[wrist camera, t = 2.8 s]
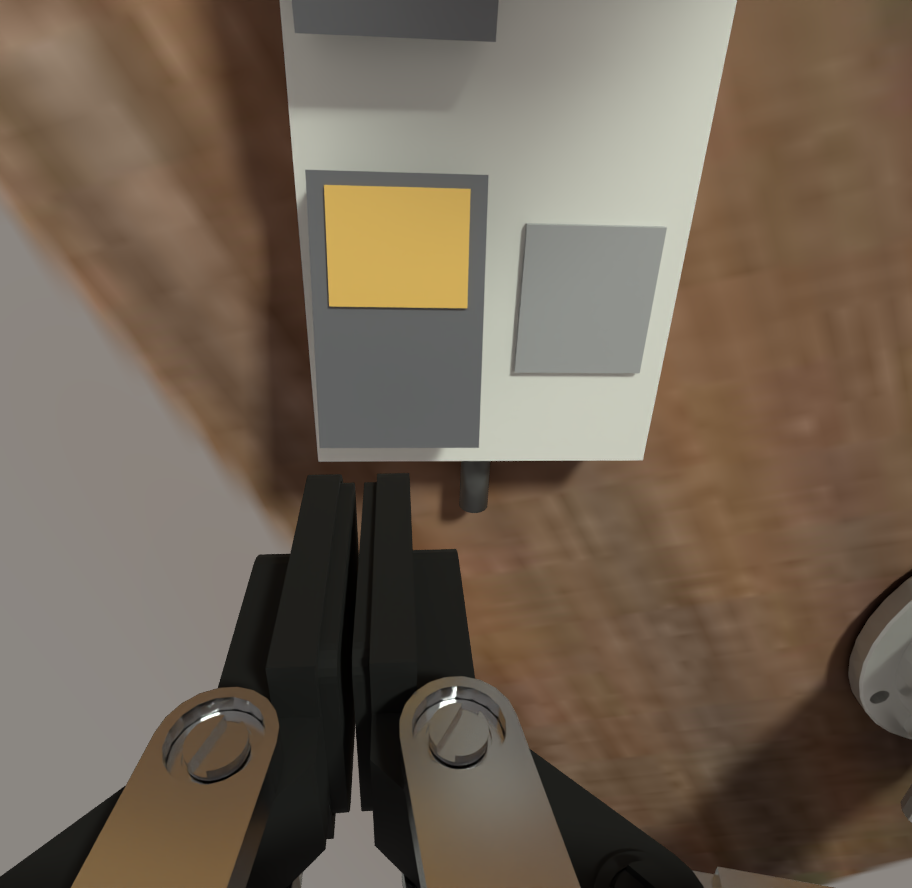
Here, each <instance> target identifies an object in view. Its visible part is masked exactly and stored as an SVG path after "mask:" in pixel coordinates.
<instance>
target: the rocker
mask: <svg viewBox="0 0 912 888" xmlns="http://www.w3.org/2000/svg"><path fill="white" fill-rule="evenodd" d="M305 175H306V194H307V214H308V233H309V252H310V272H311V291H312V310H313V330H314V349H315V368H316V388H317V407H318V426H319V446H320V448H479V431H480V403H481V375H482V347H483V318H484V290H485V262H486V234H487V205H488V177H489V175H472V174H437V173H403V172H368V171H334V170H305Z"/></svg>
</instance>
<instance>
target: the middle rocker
mask: <svg viewBox="0 0 912 888" xmlns="http://www.w3.org/2000/svg"><path fill="white" fill-rule="evenodd" d="M498 3H499V0H292V9H293V19H294V29H295V33H305V34H328V35H350V36H373V37H395V38H418V39H440V40H463V41H485V42H496V31H497V17H498Z"/></svg>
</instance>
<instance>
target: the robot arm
mask: <svg viewBox="0 0 912 888" xmlns="http://www.w3.org/2000/svg"><path fill="white" fill-rule="evenodd" d="M848 677H849V681H850V686H851V690H852V692H853V694H854V696H855V697H856V699H857V700H858V702H859V704H860V705H861V706H862V708H863V709H864V710H865V712H866V713H867V714H868V715H869V716H870V718H871V719H872V720H873V721H874V722H875V723H876V724H877V725H879V726H880V727H882V728H884V729H885V730H887V731H888V732H890V733H893V734H896V735H899V736H902V737H905V738H908V739H912V576H911V577H910V578H908V579H907V580H906V581H905V582H903V583H902V584H901V585H900V586H899V587H898V588H897V589H896V590H895V591H893V592H892V593H891V594H890V595H889V596H888V597H887V598H886V599H885V600H884V601H883V602H882V603H881V604H880V606H879V607H878V608H877V609H876V610H875V611H874V613H873V614H872V615H871V616H870V617H869V619H868V620H867V622H866V624H865V625H864V627H863V629H862V630H861V632H860V634H859V635H858V637H857V639H856V642H855V645H854V648H853V650H852V653H851V656H850V661H849V673H848ZM355 724H356V739H357V753H358V768H359V783H360V797H361V810H362V811H373V820H374V839H375V846H376V847H377V848H378V849H379V850H380V851H381V852H382V853H383V854H384V855H385V856H386V857H387V858H388V859H389V860H390V861H391V862H392V863H393V864H394V865H395V866H396V867H397V868H398V869H399V870H400V871H401V872H402V886H403V888H834V887H828V886H823V885H817V884H812V883H806V882H800V881H795V880H789V879H784V878H778V877H773V876H767V875H762V874H756V873H750V872H745V871H739V870H734V869H728V868H723V867H717V869H716V872H715V874H709V873H703V872H698V871H692V870H691V869H690V868H689V867H688V866H687V865H685V864H684V863H683V862H682V861H681V860H680V859H679V858H678V857H677V856H676V855H674V854H673V853H672V852H670V851H669V850H668V849H666V848H665V847H663V846H662V845H661V844H659V843H658V842H657V841H655V840H654V839H652V838H651V837H650V836H648V835H647V834H646V833H644V832H643V831H642V830H640V829H639V828H637V827H636V826H635V825H633V824H632V823H631V822H629V821H628V820H626V819H625V818H624V817H622V816H621V815H620V814H618V813H617V812H615V811H614V810H613V809H611V808H610V807H609V806H607V805H606V804H605V803H603V802H602V801H600V800H599V799H598V798H596V797H595V796H594V795H592V794H591V793H589V792H588V791H587V790H585V789H584V788H583V787H581V786H580V785H578V784H577V783H576V782H574V781H573V780H572V779H570V778H569V777H568V776H566V775H565V774H563V773H562V772H561V771H559V770H558V769H557V768H555V767H554V766H552V765H551V764H550V763H548V762H547V761H546V760H544V759H543V758H541V757H540V756H539V755H537V754H536V753H535V752H533V751H532V750H531V749H529V747H528V744H527V741H526V739H525V736H524V733H523V731H522V728H521V725H520V723H519V720H518V717H517V714H516V713H515V711H514V709H513V707H512V706H511V704H510V702H509V700H508V699H507V698H506V697H505V696H504V695H503V694H502V693H501V692H499V691H498V690H497V689H496V688H495V687H493V686H491V685H489V684H487V683H485V682H483V681H481V680H478V679H475V675H474V668H473V661H472V653H471V646H470V639H469V631H468V624H467V617H466V610H465V602H464V595H463V588H462V581H461V573H460V566H459V559H458V553H457V550H456V549H441V550H413V549H412V525H411V501H410V477H409V473H395V474H377V482H368V483H364V495H363V509H362V523H361V536H360V550H358V532H357V513H356V495H355V484H354V483H343V479H342V475H341V474H337V475H308V477H307V480H306V485H305V489H304V494H303V499H302V503H301V508H300V512H299V517H298V521H297V526H296V531H295V535H294V540H293V544H292V549H291V554H266V555H258V556H257V557H256V560H255V562H254V565H253V569H252V572H251V576H250V579H249V582H248V586H247V589H246V593H245V596H244V600H243V603H242V606H241V610H240V613H239V617H238V620H237V624H236V627H235V631H234V634H233V638H232V641H231V644H230V648H229V651H228V655H227V658H226V662H225V665H224V668H223V672H222V675H221V679H220V682H219V686H218V688H217V689H213V690H210V691H206V692H203V693H200V694H198V695H196V696H194V697H193V698H191V699H189V700H187V701H185V702H183V703H182V704H180V705H179V706H178V707H177V708H176V709H175V710H174V711H172V712H171V713H170V714H169V715H168V716H166V717H165V719H164V720H163V722H162V723H161V724H160V726H159V727H158V729H157V730H156V731H155V733H154V734H153V736H152V738H151V740H150V742H149V743H148V745H147V747H146V749H145V751H144V753H143V755H142V756H141V759H140V760H139V762H138V764H137V766H136V768H135V769H134V772H133V773H132V775H131V777H130V779H129V781H128V782H127V785H126V786H124V787H123V788H122V789H120V790H119V791H118V792H116V793H115V794H113V795H112V796H111V797H110V798H108V799H106V800H105V801H104V802H102V803H101V804H100V805H98V806H97V807H95V808H94V809H93V810H91V811H90V812H89V813H87V814H86V815H84V816H83V817H82V818H80V819H79V820H78V821H76V822H75V823H74V824H72V825H71V826H69V827H68V828H67V829H65V830H64V831H63V832H61V833H60V834H58V835H57V836H56V837H54V838H53V839H51V840H50V841H49V842H47V843H46V844H45V845H43V846H42V847H40V848H39V849H38V850H36V851H35V852H34V853H32V854H31V855H29V856H28V857H27V858H25V859H24V860H23V861H21V862H20V863H18V864H17V865H16V866H14V867H13V868H12V869H10V870H9V871H7V872H6V873H5V874H3V875H2V876H0V888H301V884H302V875H303V871H304V870H305V869H306V868H307V867H308V866H309V865H310V864H311V863H312V862H313V861H314V860H315V859H316V858H317V857H318V856H319V855H320V854H321V853H322V852H323V851H324V850H325V849H326V839H333V838H334V828H335V814H336V813H344V812H349V811H350V803H351V787H352V770H353V752H354V737H355ZM900 803H901V808H902V811H903V813H904V814H905V816H906V817H907V819H908V820H909V821H910V822H912V784H911V786H910V788H909V789H908V791H907V792H906V794H905V796H904V797H903V799H902V800H901V802H900Z"/></svg>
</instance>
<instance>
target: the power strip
mask: <svg viewBox="0 0 912 888" xmlns="http://www.w3.org/2000/svg"><path fill="white" fill-rule="evenodd" d="M736 3H737V0H499V3H498V17H497V31H496V42H485V41H463V40H440V39H418V38H395V37H373V36H350V35H328V34H305V33H295V29H294V19H293V9H292V0H280V11H281V23H282V35H283V47H284V59H285V71H286V83H287V95H288V107H289V119H290V130H291V142H292V154H293V166H294V178H295V190H296V202H297V214H298V226H299V237H300V249H301V261H302V273H303V285H304V297H305V309H306V321H307V333H308V345H309V356H310V368H311V380H312V392H313V404H314V416H315V428H316V440H317V452H318V462H344V461H461V476H460V499H459V506H460V508H461V509H462V510H464V511H466V512H470V513H479V512H482V511H484V510H485V509H486V508H487V502H488V488H489V473H490V461H582V460H643V456H644V452H645V447H646V442H647V437H648V432H649V427H650V422H651V417H652V413H653V408H654V403H655V398H656V393H657V388H658V383H659V378H660V374H661V369H662V364H663V359H664V354H665V349H666V344H667V339H668V334H669V330H670V325H671V320H672V315H673V310H674V305H675V300H676V295H677V291H678V286H679V281H680V276H681V271H682V266H683V261H684V256H685V252H686V247H687V242H688V237H689V232H690V227H691V222H692V217H693V212H694V208H695V203H696V198H697V193H698V188H699V183H700V178H701V173H702V169H703V164H704V159H705V154H706V149H707V144H708V139H709V134H710V129H711V125H712V120H713V115H714V110H715V105H716V100H717V95H718V90H719V86H720V81H721V76H722V71H723V66H724V61H725V56H726V51H727V47H728V42H729V37H730V32H731V27H732V22H733V17H734V12H735V7H736ZM305 170H334V171H368V172H403V173H437V174H472V175H489V177H488V205H487V234H486V262H485V290H484V318H483V347H482V375H481V403H480V431H479V448H320V446H319V426H318V407H317V388H316V368H315V349H314V330H313V310H312V291H311V272H310V252H309V233H308V214H307V194H306V175H305Z"/></svg>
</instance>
